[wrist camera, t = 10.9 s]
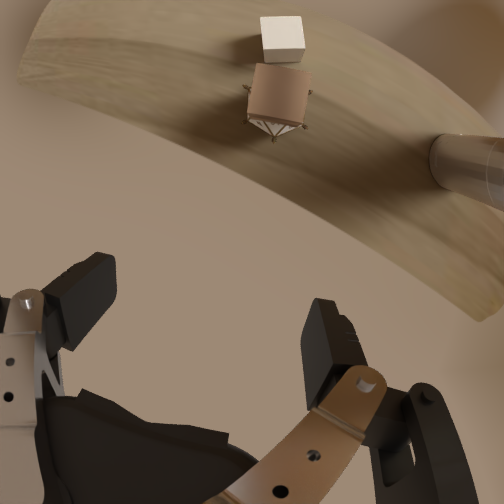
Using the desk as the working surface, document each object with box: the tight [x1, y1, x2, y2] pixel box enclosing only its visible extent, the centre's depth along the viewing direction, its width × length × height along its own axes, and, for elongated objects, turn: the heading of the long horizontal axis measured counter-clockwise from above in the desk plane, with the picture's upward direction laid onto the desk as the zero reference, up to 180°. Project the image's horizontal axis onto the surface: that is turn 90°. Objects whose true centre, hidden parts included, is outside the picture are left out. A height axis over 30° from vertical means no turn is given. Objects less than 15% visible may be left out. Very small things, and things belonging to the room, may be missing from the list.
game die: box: [241, 85, 313, 144], centre depth 30 cm, size 9×8×10 cm
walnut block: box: [247, 63, 312, 128], centre depth 24 cm, size 5×5×6 cm
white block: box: [260, 16, 305, 63], centre depth 28 cm, size 5×5×6 cm
